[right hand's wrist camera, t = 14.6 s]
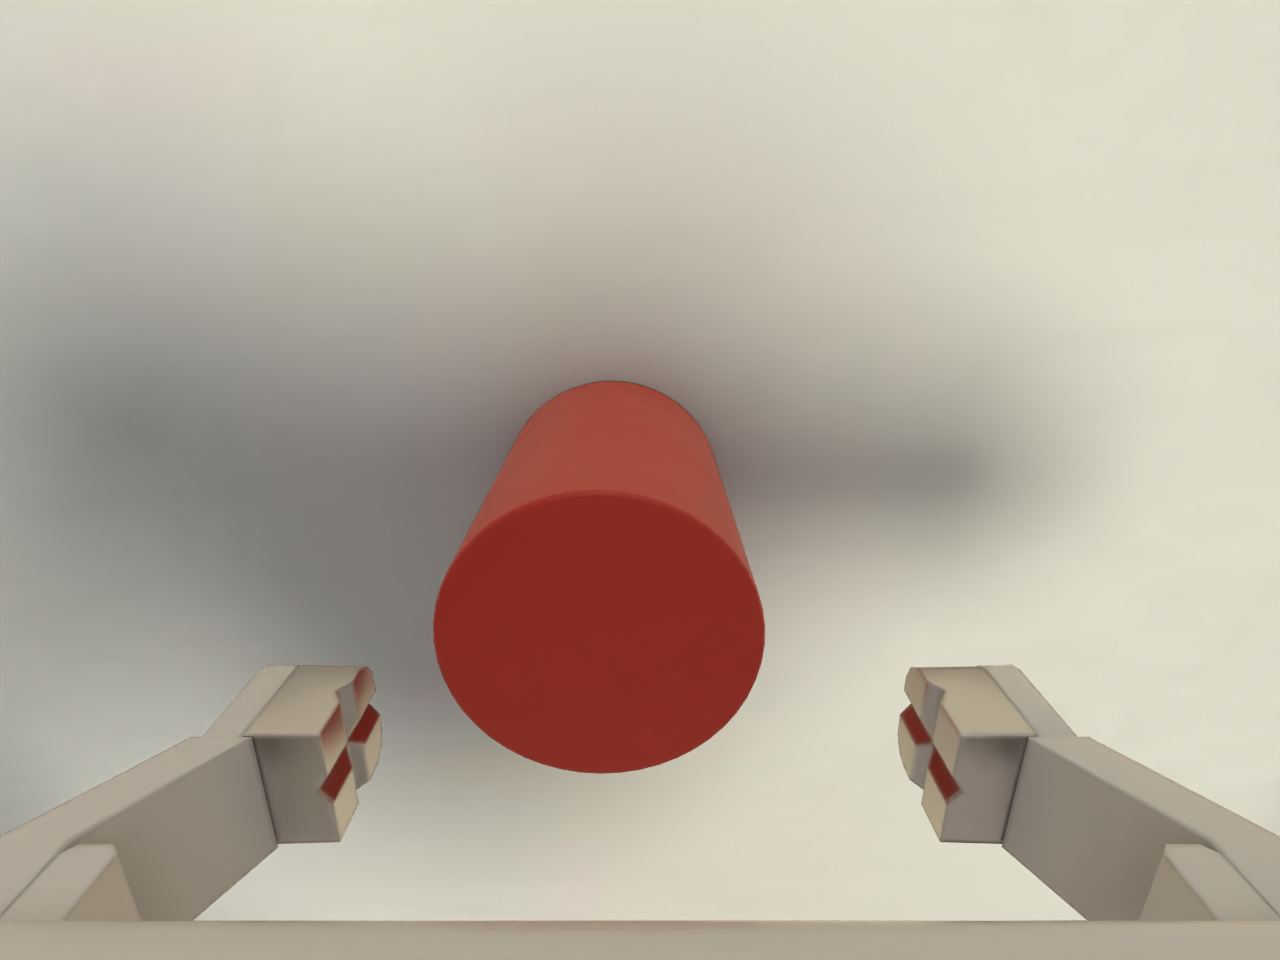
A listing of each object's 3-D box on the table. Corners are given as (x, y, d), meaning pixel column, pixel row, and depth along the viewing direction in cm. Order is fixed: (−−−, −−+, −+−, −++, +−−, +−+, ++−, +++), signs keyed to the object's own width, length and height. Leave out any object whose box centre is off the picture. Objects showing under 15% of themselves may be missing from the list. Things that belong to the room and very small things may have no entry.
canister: (711, 575, 19) (753, 776, 12) (514, 573, 19) (447, 774, 12) (722, 381, 17) (779, 493, 10) (503, 378, 17) (415, 489, 10)
